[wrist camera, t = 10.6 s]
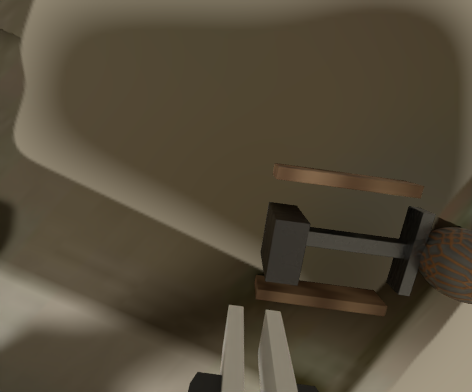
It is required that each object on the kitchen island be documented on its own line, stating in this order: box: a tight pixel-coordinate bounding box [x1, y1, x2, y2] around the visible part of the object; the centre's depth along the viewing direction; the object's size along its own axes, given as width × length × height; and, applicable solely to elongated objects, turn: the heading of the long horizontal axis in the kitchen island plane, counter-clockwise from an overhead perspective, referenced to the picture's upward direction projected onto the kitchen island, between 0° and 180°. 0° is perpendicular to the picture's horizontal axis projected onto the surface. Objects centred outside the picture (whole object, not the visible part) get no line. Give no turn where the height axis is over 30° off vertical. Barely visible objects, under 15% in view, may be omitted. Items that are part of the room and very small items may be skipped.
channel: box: [255, 163, 424, 316], centre depth 28 cm, size 14×14×3 cm
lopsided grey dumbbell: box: [261, 202, 436, 296], centre depth 26 cm, size 16×9×6 cm, turn 82°
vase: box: [418, 227, 472, 304], centre depth 25 cm, size 7×7×9 cm
